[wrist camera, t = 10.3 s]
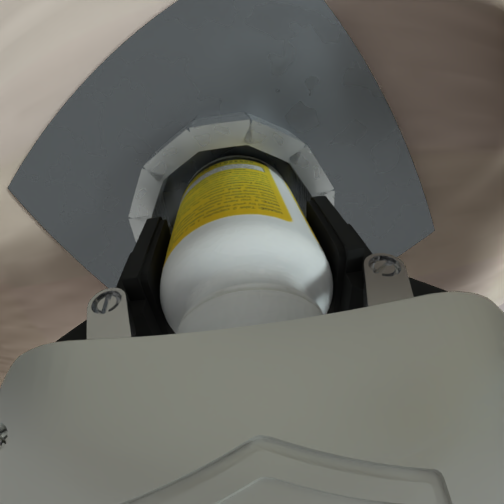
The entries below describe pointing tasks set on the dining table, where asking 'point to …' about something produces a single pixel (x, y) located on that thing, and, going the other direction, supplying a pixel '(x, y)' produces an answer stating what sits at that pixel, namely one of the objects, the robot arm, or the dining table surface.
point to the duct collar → (222, 129)
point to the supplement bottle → (241, 252)
